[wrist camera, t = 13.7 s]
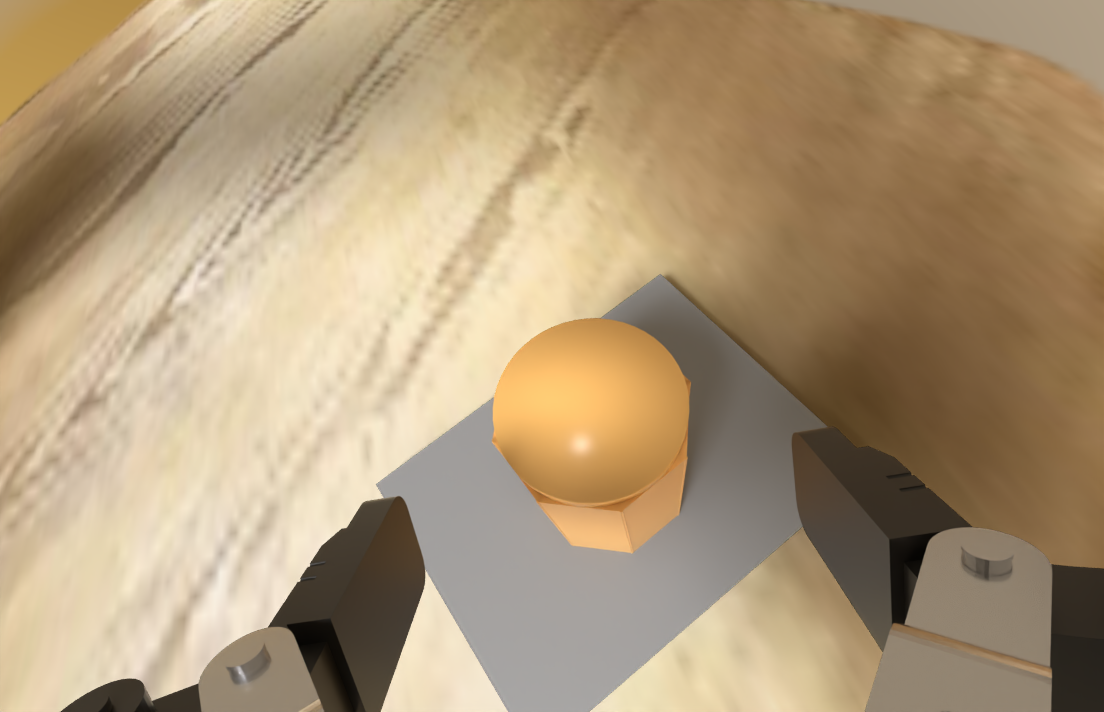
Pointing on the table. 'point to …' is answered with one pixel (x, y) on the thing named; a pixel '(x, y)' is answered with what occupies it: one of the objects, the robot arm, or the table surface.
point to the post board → (596, 574)
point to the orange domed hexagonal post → (596, 430)
